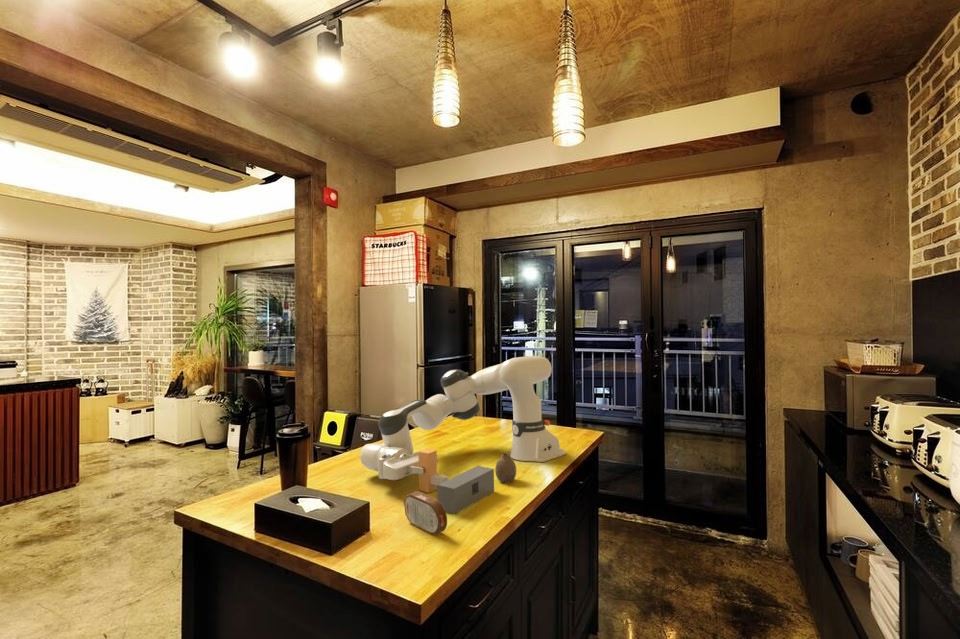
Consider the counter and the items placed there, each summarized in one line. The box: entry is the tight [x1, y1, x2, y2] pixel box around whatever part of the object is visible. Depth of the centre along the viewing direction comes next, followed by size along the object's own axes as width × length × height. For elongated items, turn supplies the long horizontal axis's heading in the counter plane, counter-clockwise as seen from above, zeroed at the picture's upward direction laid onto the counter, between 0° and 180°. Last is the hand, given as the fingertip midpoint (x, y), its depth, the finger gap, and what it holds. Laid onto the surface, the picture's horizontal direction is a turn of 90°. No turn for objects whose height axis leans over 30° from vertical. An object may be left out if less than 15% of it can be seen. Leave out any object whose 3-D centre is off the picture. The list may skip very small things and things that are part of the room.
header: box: [436, 465, 495, 515], centre depth 132 cm, size 6×20×7 cm, turn 145°
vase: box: [494, 452, 517, 484], centre depth 148 cm, size 7×7×9 cm
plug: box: [417, 448, 449, 493], centre depth 139 cm, size 9×4×12 cm, turn 55°
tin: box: [403, 490, 448, 536], centre depth 114 cm, size 15×3×8 cm, turn 45°
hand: (429, 468), depth 140 cm, fingers closed on plug, 4 cm apart
